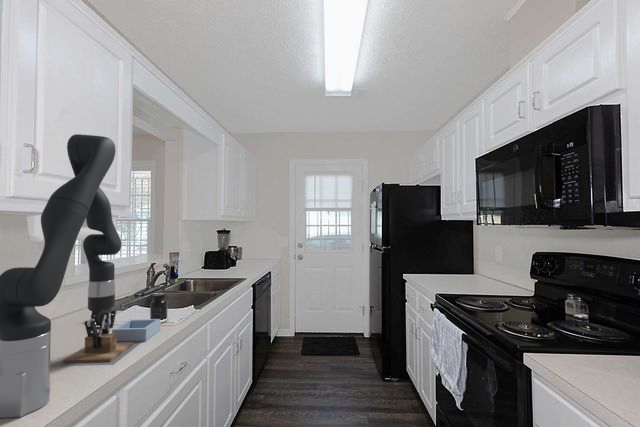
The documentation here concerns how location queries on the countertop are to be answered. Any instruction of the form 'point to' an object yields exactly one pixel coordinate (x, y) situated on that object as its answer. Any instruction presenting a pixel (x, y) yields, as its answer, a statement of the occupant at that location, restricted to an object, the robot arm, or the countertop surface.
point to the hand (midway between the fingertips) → (100, 345)
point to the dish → (137, 330)
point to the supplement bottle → (158, 307)
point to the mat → (99, 362)
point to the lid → (99, 350)
